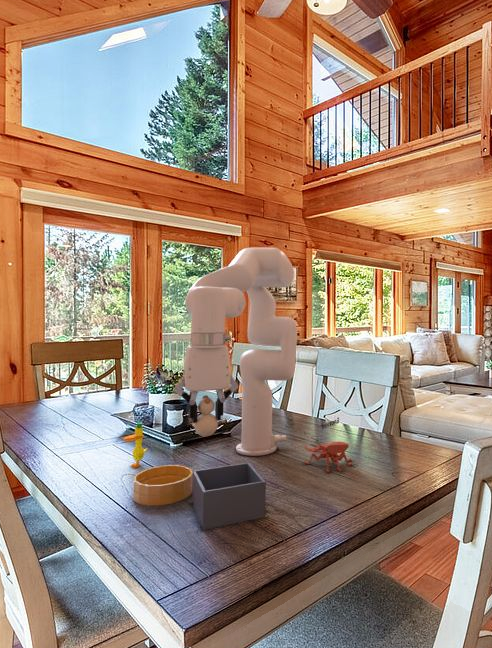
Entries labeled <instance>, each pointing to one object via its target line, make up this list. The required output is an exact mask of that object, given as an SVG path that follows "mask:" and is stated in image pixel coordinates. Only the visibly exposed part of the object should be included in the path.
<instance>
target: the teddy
mask: <svg viewBox="0 0 492 648" xmlns="http://www.w3.org/2000/svg"><path fill="white" fill-rule="evenodd" d="M197 410H198V411H199V413H201V414H199V415H197V422H196V423H193V427H194V428H193V429H194V430H195V433H196V434H197V435H199V436H201V437H205V438H206V437H210V436H212V435H213V434H215V432H216V431H217V429H218V427H219V421H218V420H217V418H216V417H215V414H213V411H215V402H214V400H213V399H211V398H210V397H209V396H208V395H205V394H204V395H203V396H202V399H200V401H199V402H198V404H197Z"/></svg>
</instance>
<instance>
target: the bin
mask: <svg viewBox="0 0 492 648" xmlns="http://www.w3.org/2000/svg"><path fill="white" fill-rule="evenodd" d="M192 471H193V481H192V493H191V496H192V497H191V503H192V505H193V507H194V510H195V512H196V515H197V517H198V520H199V522H200V524H201V527H200V528H201V529H202V531H204V530H205V531H206V530H209V529H215V528H219V527H223V526H224V527H225V526H229V525H233V524H238V523H239V524H240V523H243V522H248V521H253V520H258V519H262V518H266V505H267V504H266V501H267V500H266V497H267V494H266V493H267V481H266V480H265V479H264V478H263V476H262V475H261V474H260V473H259V472H258V470H256V469H255V467H254V466H253V465H252V464H251V463H250V462H249V461H248V462H243V463H236V464H228V465H223V466H215V467H208V468H201V469H196V470H195V469H193V470H192Z"/></svg>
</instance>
